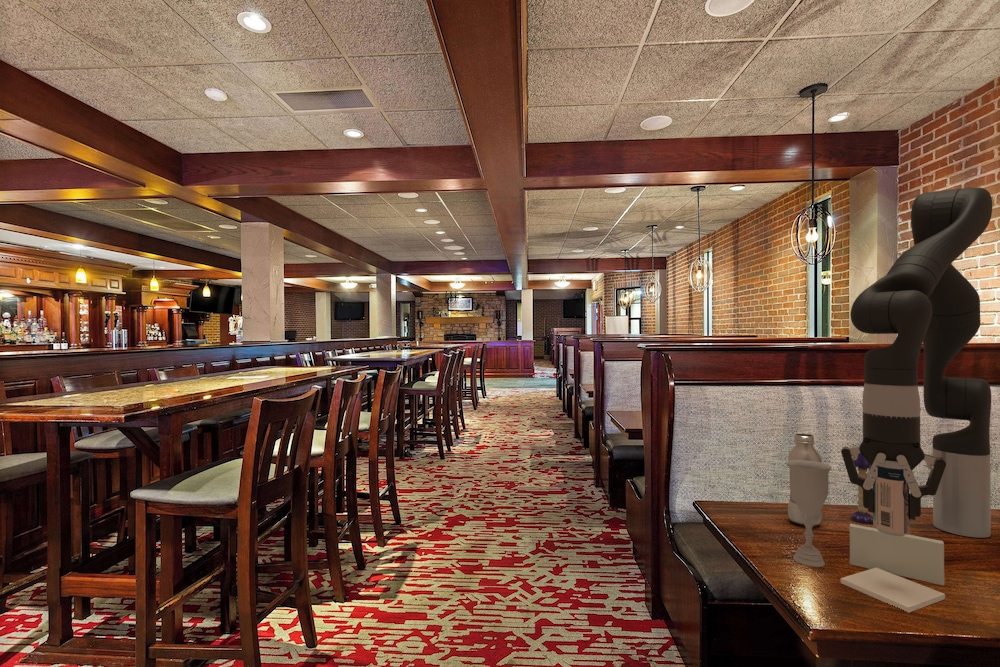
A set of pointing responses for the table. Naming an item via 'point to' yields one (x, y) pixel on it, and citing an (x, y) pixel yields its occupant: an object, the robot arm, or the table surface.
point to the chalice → (809, 502)
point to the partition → (897, 554)
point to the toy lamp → (861, 492)
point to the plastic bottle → (808, 453)
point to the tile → (893, 589)
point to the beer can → (891, 500)
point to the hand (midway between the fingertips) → (891, 514)
